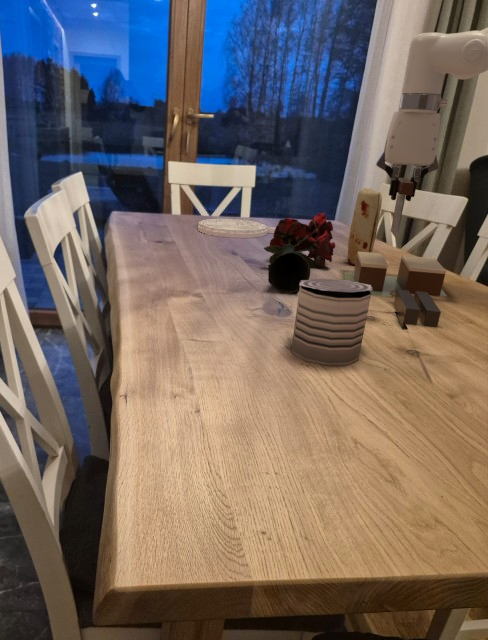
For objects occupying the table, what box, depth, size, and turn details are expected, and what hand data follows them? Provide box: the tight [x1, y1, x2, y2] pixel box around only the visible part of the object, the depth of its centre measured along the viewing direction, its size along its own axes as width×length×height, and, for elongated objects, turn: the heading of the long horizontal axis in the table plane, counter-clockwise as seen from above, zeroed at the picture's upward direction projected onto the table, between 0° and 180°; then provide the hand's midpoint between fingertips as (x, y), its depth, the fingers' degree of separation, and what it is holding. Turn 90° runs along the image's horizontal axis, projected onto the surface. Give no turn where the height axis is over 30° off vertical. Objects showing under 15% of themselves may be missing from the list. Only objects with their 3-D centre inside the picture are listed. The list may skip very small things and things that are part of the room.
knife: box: [390, 177, 414, 239], centre depth 126 cm, size 12×2×11 cm, turn 169°
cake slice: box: [353, 252, 389, 292], centre depth 135 cm, size 6×13×6 cm, turn 169°
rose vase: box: [263, 212, 336, 294], centre depth 140 cm, size 16×18×35 cm
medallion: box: [197, 218, 276, 239], centre depth 194 cm, size 24×27×2 cm
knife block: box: [393, 289, 442, 330], centre depth 114 cm, size 14×6×4 cm, turn 169°
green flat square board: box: [343, 271, 448, 298], centre depth 135 cm, size 22×20×1 cm
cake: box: [396, 255, 447, 297], centre depth 133 cm, size 8×13×6 cm, turn 169°
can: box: [291, 278, 373, 367], centre depth 93 cm, size 11×11×12 cm
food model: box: [347, 187, 383, 267], centre depth 151 cm, size 10×7×20 cm
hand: (400, 199), depth 125 cm, fingers closed on knife, 2 cm apart
